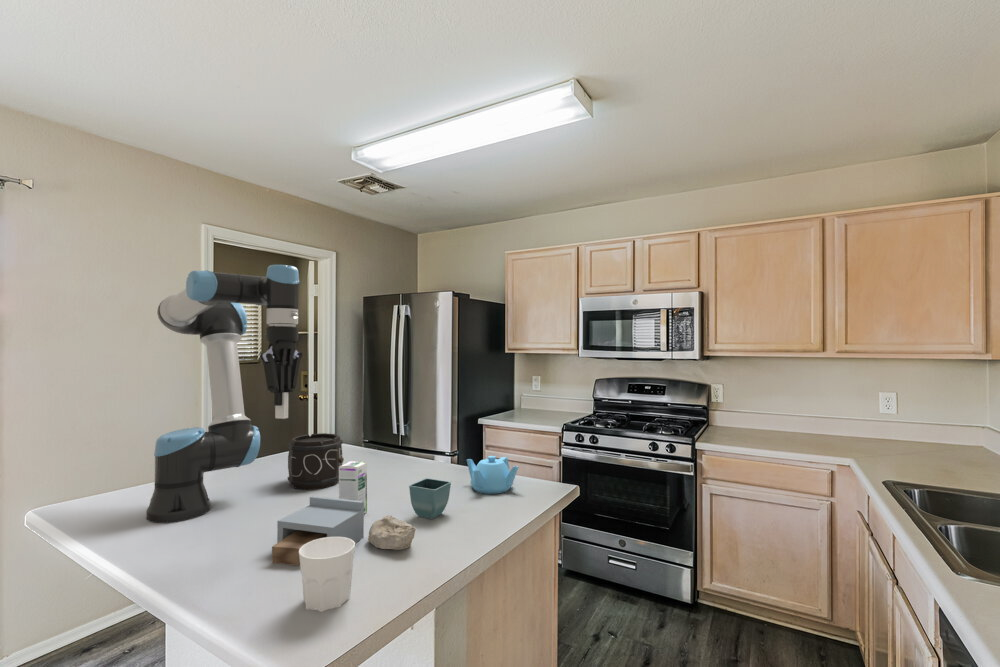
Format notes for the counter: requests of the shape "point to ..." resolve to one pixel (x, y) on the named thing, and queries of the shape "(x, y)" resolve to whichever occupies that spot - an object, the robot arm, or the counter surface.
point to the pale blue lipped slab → (326, 519)
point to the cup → (326, 572)
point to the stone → (391, 533)
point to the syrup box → (353, 482)
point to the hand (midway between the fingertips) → (281, 417)
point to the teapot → (491, 475)
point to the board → (293, 546)
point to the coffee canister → (314, 461)
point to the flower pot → (429, 497)
